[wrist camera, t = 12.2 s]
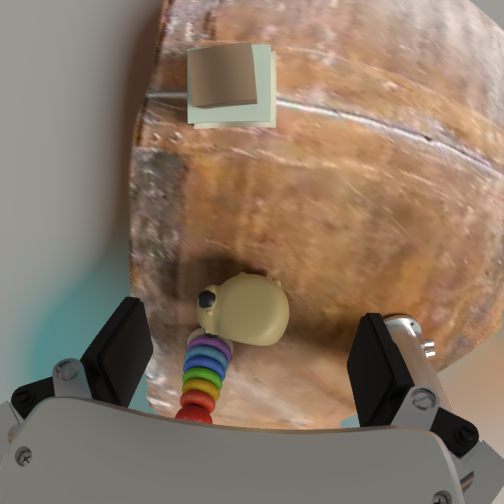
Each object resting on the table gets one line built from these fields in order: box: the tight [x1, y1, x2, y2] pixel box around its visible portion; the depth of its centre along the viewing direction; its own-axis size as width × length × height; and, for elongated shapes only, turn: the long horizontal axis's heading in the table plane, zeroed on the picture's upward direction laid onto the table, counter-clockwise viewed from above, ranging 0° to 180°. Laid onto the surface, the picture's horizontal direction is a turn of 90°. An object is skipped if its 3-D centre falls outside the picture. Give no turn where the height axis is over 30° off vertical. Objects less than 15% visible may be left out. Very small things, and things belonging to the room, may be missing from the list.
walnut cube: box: [188, 42, 258, 109], centre depth 21 cm, size 5×5×5 cm
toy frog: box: [197, 272, 289, 346], centre depth 37 cm, size 10×12×11 cm
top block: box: [187, 45, 271, 124], centre depth 25 cm, size 8×8×4 cm
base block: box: [194, 51, 276, 129], centre depth 29 cm, size 9×9×4 cm
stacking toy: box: [175, 328, 234, 424], centre depth 38 cm, size 8×8×19 cm
